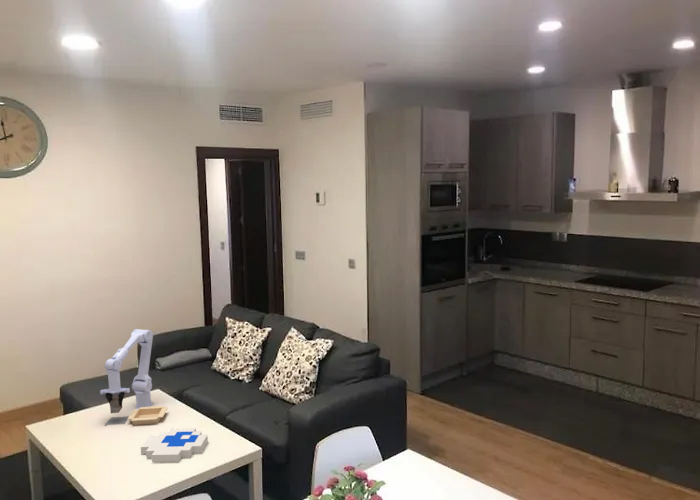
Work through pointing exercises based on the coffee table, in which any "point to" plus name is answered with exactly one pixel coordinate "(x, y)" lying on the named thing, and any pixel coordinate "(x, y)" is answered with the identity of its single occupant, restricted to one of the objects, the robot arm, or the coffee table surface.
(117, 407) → the walnut block
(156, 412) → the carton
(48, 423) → the coffee table surface
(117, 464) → the coffee table surface
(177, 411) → the coffee table surface
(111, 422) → the slate mat
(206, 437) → the pixel art tile
